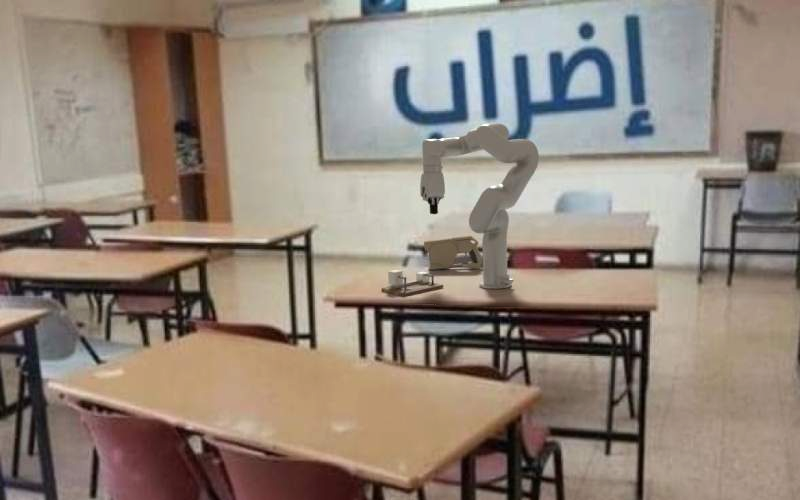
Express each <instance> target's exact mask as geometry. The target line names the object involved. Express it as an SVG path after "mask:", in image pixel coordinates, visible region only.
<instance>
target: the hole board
mask: <svg viewBox="0 0 800 500" xmlns="http://www.w3.org/2000/svg"><path fill="white" fill-rule="evenodd" d="M406 288H407V289H404V287H401V288H396V289H391V290H390V289H388V286H386V287H382V288H381V292H383V293H387V294H392V295H395V296H400V297H408V296H413V295H418V294H422V293H426V292H431V291H436V290H441V289H443V288H444V284H441V283H437V282H434V284H432V281H430V282H428V283H424V284H422V283H420V284H415V285H410V286H406Z"/></svg>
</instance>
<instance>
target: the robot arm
mask: <svg viewBox="0 0 800 500" xmlns="http://www.w3.org/2000/svg"><path fill="white" fill-rule="evenodd" d="M509 136H510V131H509V128H508V127H507V126H506V125H505V124H503V123H499V122H498V123H495V122H494V123H486V124H482V125H480V126H478V127H477V128H474V129H470V130H469V131H468V132H467V133H466V134H465V135H462V136H458V137H446V138H439V139H437V138H430V139H428V138H426V139H424V140H423V141H422V144H421V146H422V147H421V148H422V171H423V172H422V173H421V174H420V175H421V176H420V186H419V187H420V189H419V191H420V197H422V201H424V202H427V203H428V205H429V213H430V215H437V214H439V208H438V206H439V203H440V201H441V200H443V199H444V198H445V193H446V187H445V178H444V173H443V172H442V171H443V165H442V159H443V158H444V159H445V158H450V157H451V158H452V157H458V156H459V157H460V156H462V155H463V156H464V155H468V154H471V153H477V152H479V151H485V152H487V154H489V155H491V156H492V157H494V158H495V159H496V160H497V161H499V162H501V163H503V164H513V163H515V164H514V165H513V166H512V167H511V168H510V169H509V170H508V171H507V173H506V175H505V177H504V178H503V180H502V182H501V183H499V184H498V185H491V186H489V187H487V188H486V189H484V190H483V192H482V193H481V195H480V196H479V198H478V199H477V202H475V205H474V207H473V208H472V209H471V212H470V214H469V217H468V218H469V219H468V226H469V227H470V229H471V231H472V232H474V233H476V234H483V235H482V242H481V244H482V247H481V248H482V278H483V280H482V281H480V282H479V287H480V288H481V289H482V288H483V289H490V290H491V289H492V290H499V289H508V288H510V287H511V286H512V283H514V279H513V278H510V274H508V241H507V240H508V228H509V223H510V222H509V221H510V220H509V219H510V218H509V213H508V211H507V210H508V209H511V208H513V207H515V205H516V204H517V202H518V200H519V199H520V197H521V195H522V194H523V192H524V190H525V188H526V187H527V185H528V184H529V181H530V180H531V178H532V177H533V176H534V173H535V172H536V171H537V168H538V165H539V163H540V162H539V161H540V157H539V156H540V155H539V150H538V148H537V146H536V144H535V143H534V142H533V141H532V140H530V139H526V138H516V139H509Z"/></svg>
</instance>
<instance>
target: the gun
mask: <svg viewBox="0 0 800 500" xmlns="http://www.w3.org/2000/svg"><path fill="white" fill-rule="evenodd" d="M472 241H473V242H472ZM478 245H479V241H478V240H477V239H476V238H475V237H474V236H472V235H463V236H454V237H449V238H441V239H432V240H424V241H423V246H424V251H425V252H428V258H429V259H428V260H429V264H430V265H429V267H428V271H438V270H446V269H447V270H448V269H454V268H462V267H463V268H469V269H474V270H475V269H476V270H480V269H481V268H482V267H481V266H482V264H483V256H481V253H480V251H479V249H478ZM467 253H468V255H469V258H470V259H471V261H466V262H461V263H453V262H454V261H455V259H456V257H457V256H458V254H465V256H464V258H466V256H467Z"/></svg>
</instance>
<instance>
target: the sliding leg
mask: <svg viewBox="0 0 800 500" xmlns="http://www.w3.org/2000/svg"><path fill="white" fill-rule="evenodd" d="M387 276H388V279H387V280H388V284H389V286H391V285H400V284H403V283H404V289H407V288H406V282H407V277H406V276H404V275H403V270H400V269H393V270H388V271H387Z"/></svg>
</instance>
